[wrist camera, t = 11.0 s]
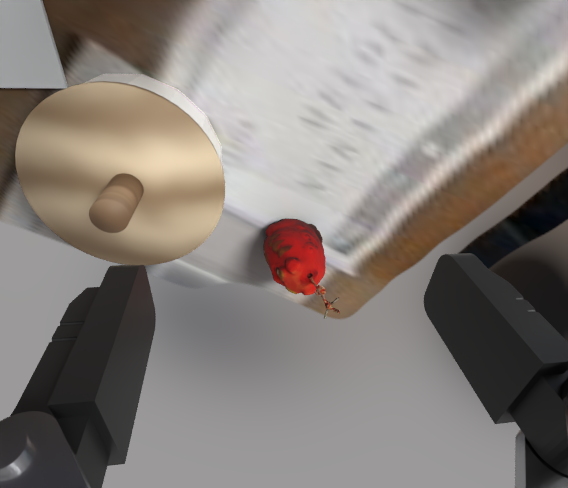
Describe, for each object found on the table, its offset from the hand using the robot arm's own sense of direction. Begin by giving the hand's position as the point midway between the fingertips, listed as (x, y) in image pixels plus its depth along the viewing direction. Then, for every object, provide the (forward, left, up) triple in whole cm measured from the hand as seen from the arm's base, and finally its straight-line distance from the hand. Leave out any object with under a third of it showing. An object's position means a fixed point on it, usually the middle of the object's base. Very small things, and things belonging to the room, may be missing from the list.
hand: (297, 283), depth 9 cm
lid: (+7, -11, -23) cm, 27 cm away
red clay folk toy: (+17, +4, -29) cm, 33 cm away
